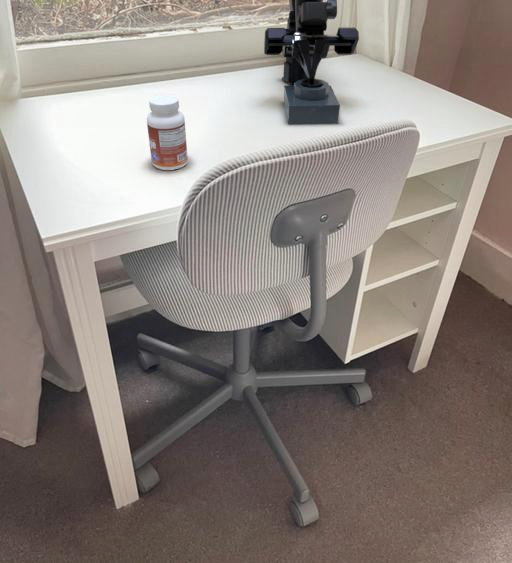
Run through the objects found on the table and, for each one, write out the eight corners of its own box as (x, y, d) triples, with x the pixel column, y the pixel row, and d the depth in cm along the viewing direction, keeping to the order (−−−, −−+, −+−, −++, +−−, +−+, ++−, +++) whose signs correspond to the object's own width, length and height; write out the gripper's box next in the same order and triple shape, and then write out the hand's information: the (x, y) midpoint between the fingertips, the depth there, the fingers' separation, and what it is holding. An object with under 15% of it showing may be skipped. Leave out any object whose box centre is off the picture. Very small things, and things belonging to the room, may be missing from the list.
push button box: (283, 103, 116) (284, 75, 113) (329, 103, 117) (331, 74, 113) (288, 124, 107) (289, 94, 103) (338, 123, 107) (341, 93, 104)
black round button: (300, 89, 111) (300, 79, 109) (319, 89, 111) (320, 79, 110) (302, 95, 108) (303, 85, 106) (322, 95, 108) (323, 85, 106)
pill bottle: (151, 156, 94) (144, 93, 88) (186, 154, 95) (181, 91, 88) (152, 172, 90) (144, 107, 83) (189, 169, 90) (184, 104, 84)
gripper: (265, -18, 101) (267, 59, 99) (363, -18, 102) (367, 58, 100) (263, 18, 112) (264, 88, 110) (351, 18, 113) (354, 87, 111)
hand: (311, 80), depth 108 cm, fingers closed, pressing on black round button
